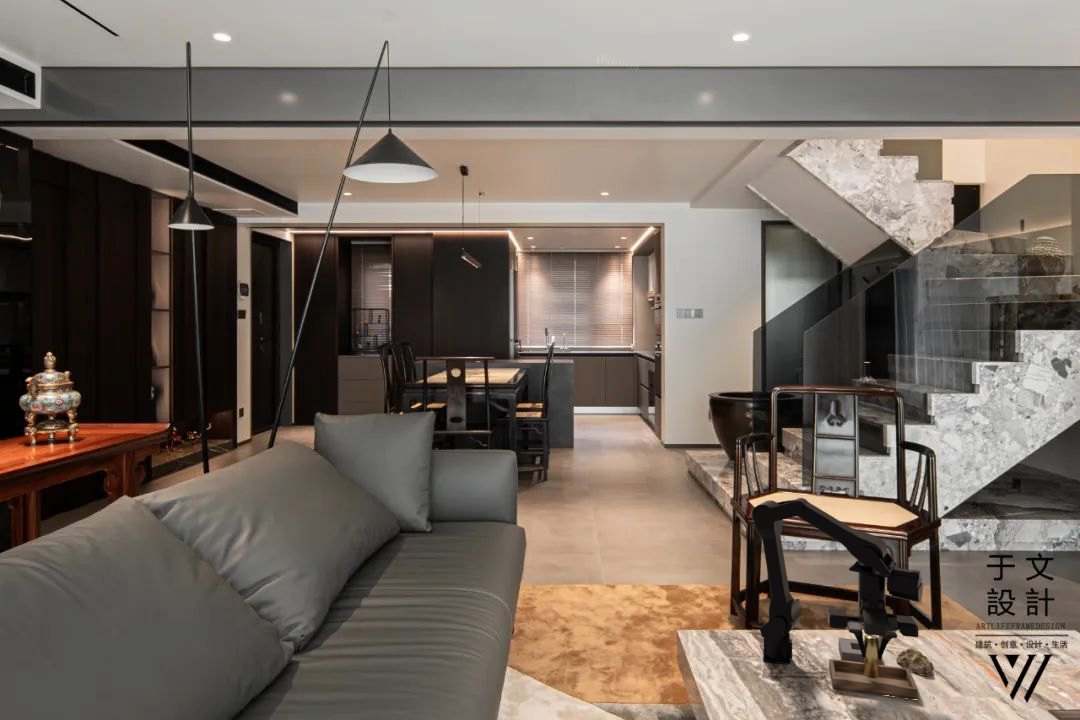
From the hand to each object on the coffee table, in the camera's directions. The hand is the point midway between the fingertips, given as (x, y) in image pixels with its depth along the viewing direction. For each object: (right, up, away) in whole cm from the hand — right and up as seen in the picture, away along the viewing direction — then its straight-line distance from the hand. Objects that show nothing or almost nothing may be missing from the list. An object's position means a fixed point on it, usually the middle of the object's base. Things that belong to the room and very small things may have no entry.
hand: (871, 658), depth 162 cm
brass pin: (0, -4, 0) cm, 4 cm away
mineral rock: (+15, -6, +9) cm, 19 cm away
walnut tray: (0, -6, 0) cm, 6 cm away
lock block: (+3, -6, +13) cm, 15 cm away
